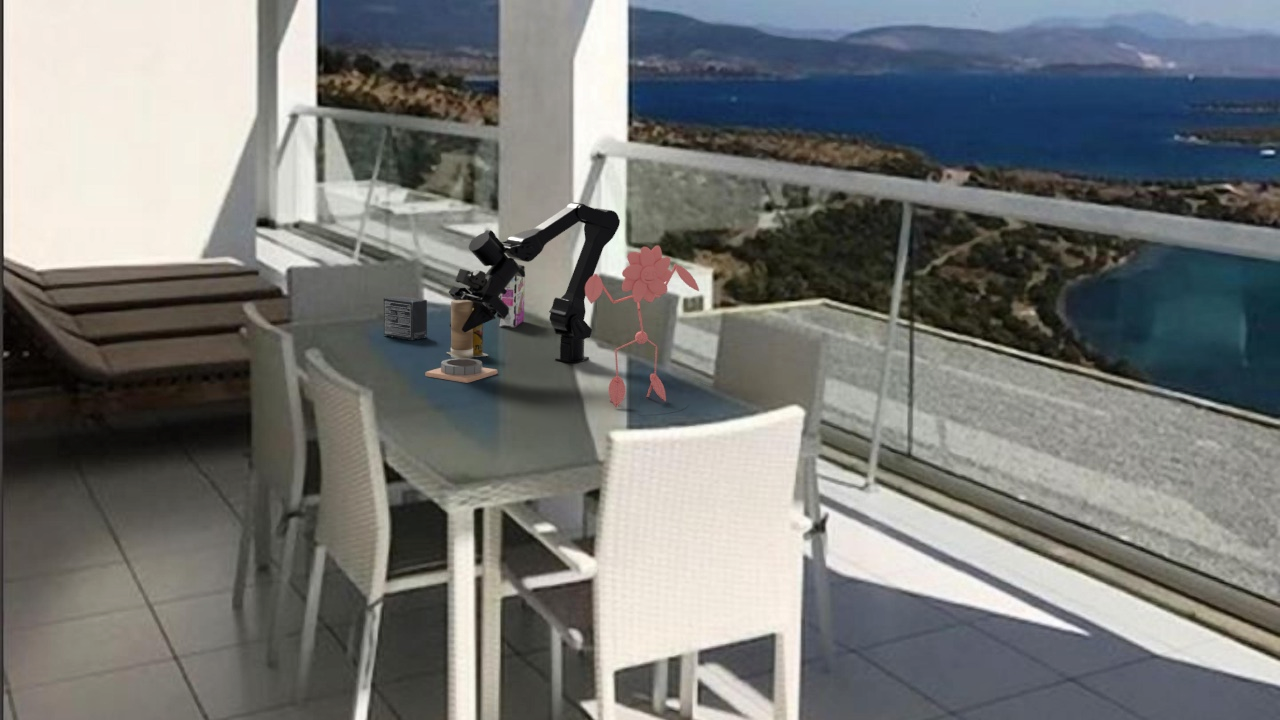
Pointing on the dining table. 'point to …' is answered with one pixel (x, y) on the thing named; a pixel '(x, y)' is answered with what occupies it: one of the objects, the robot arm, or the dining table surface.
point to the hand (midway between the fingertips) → (457, 329)
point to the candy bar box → (514, 302)
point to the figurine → (644, 283)
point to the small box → (405, 317)
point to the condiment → (477, 341)
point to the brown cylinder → (460, 339)
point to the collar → (461, 370)
